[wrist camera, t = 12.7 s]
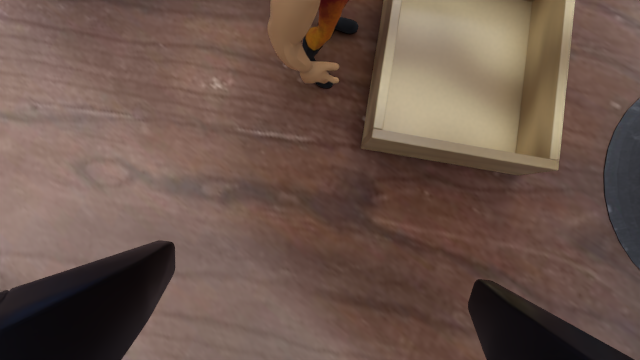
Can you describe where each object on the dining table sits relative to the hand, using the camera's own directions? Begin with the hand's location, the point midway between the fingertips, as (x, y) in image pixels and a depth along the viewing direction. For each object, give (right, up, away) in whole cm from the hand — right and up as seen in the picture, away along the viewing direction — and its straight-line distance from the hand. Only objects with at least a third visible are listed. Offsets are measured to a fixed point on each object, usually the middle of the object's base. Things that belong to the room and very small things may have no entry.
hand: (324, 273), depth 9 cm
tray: (+9, +11, +12) cm, 19 cm away
